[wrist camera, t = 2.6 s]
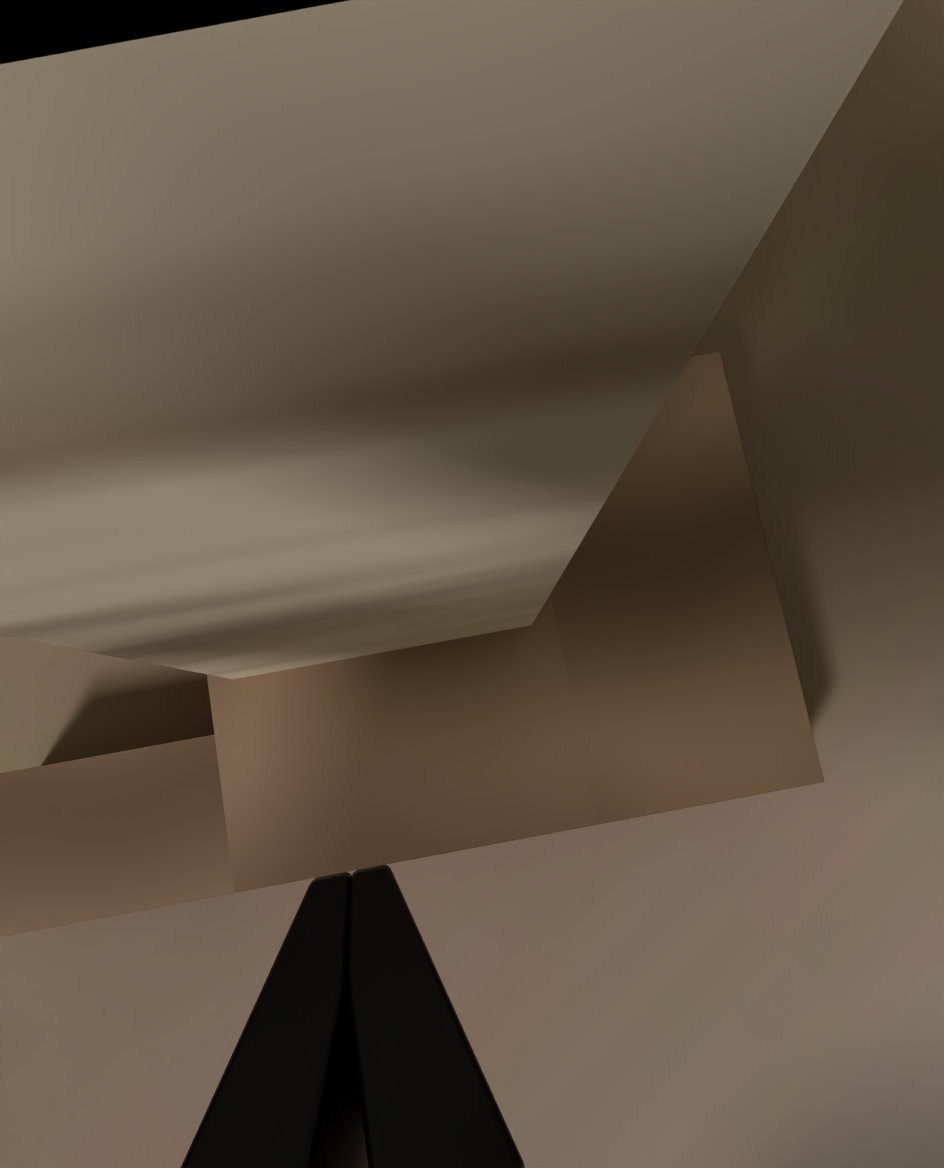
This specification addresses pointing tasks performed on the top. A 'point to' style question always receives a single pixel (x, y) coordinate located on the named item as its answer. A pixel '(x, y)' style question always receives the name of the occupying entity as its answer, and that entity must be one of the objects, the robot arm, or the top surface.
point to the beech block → (362, 297)
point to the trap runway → (461, 716)
